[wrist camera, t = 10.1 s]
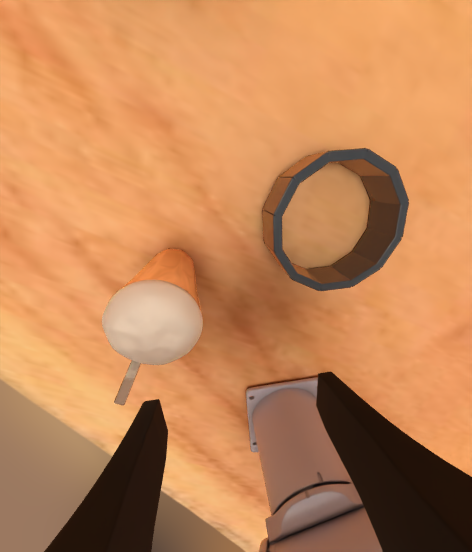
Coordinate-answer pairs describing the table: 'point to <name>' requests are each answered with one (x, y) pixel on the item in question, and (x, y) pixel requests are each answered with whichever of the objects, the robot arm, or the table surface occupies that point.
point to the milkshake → (154, 315)
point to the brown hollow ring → (381, 223)
